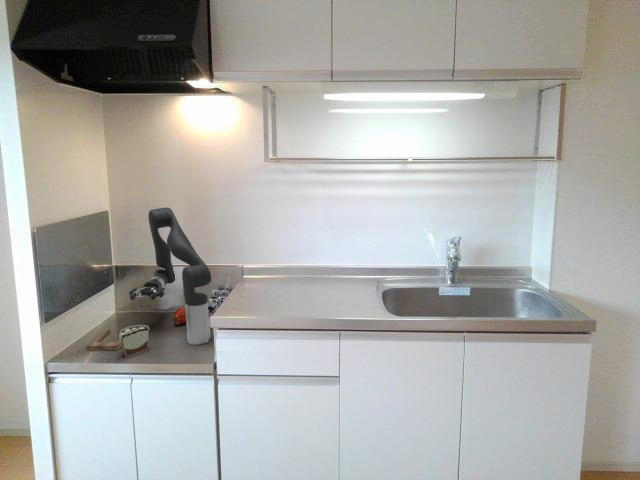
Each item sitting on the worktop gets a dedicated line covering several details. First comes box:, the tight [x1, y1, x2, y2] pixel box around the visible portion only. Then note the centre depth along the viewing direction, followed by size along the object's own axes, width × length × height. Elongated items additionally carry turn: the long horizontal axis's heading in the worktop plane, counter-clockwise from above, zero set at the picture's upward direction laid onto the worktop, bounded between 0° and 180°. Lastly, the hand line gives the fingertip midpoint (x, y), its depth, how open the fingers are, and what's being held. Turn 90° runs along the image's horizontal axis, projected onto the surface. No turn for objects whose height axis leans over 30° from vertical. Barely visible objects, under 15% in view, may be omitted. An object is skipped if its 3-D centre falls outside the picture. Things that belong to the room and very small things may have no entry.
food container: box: [118, 324, 151, 358], centre depth 179 cm, size 12×6×10 cm, turn 141°
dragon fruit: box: [172, 306, 186, 326], centre depth 209 cm, size 8×8×12 cm
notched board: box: [85, 328, 123, 352], centre depth 189 cm, size 12×18×2 cm
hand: (141, 298), depth 190 cm, fingers open, 8 cm apart
